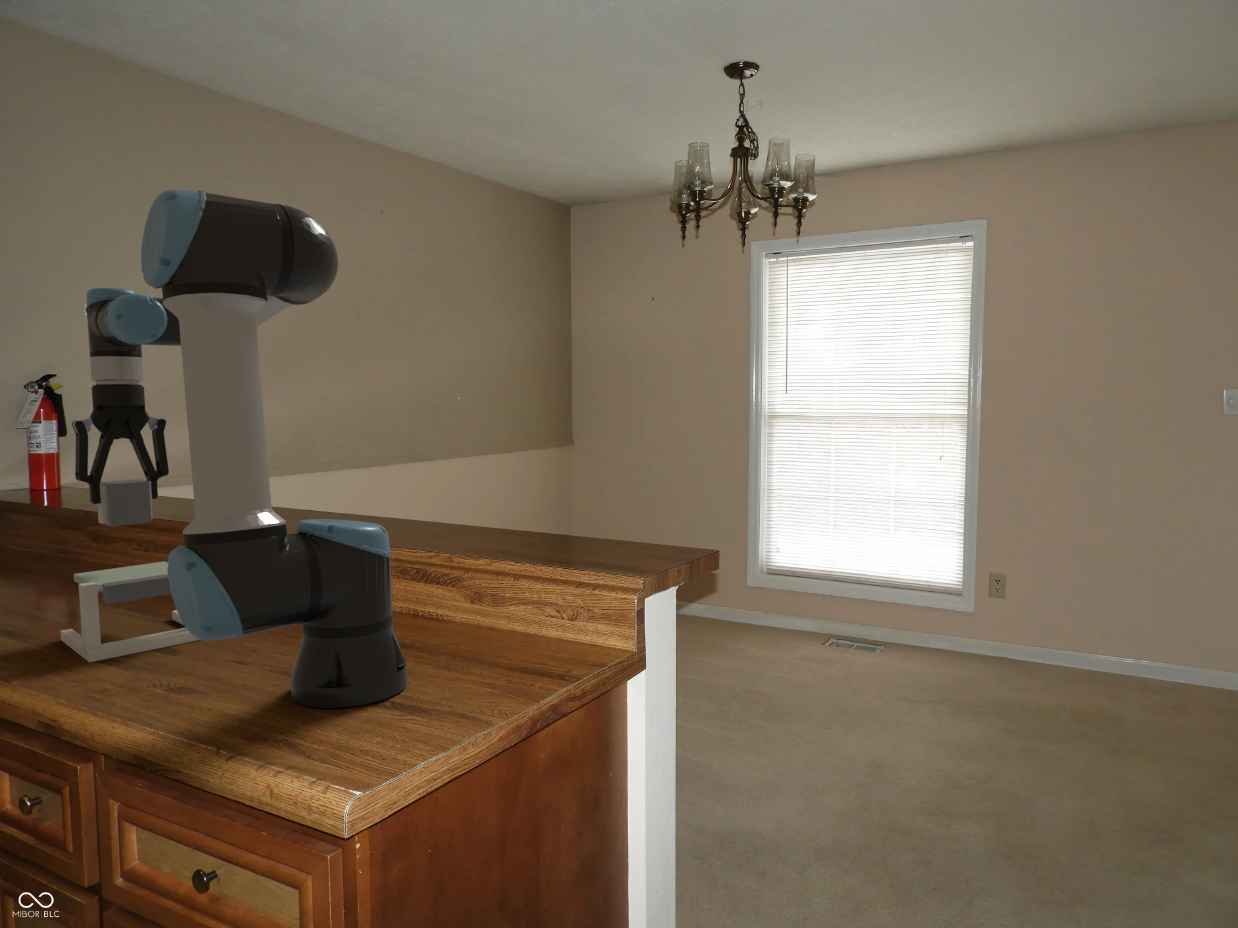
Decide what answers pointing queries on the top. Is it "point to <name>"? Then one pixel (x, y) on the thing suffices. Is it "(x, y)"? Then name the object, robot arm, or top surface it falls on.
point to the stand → (96, 651)
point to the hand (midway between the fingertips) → (126, 520)
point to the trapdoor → (129, 582)
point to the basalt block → (128, 502)
